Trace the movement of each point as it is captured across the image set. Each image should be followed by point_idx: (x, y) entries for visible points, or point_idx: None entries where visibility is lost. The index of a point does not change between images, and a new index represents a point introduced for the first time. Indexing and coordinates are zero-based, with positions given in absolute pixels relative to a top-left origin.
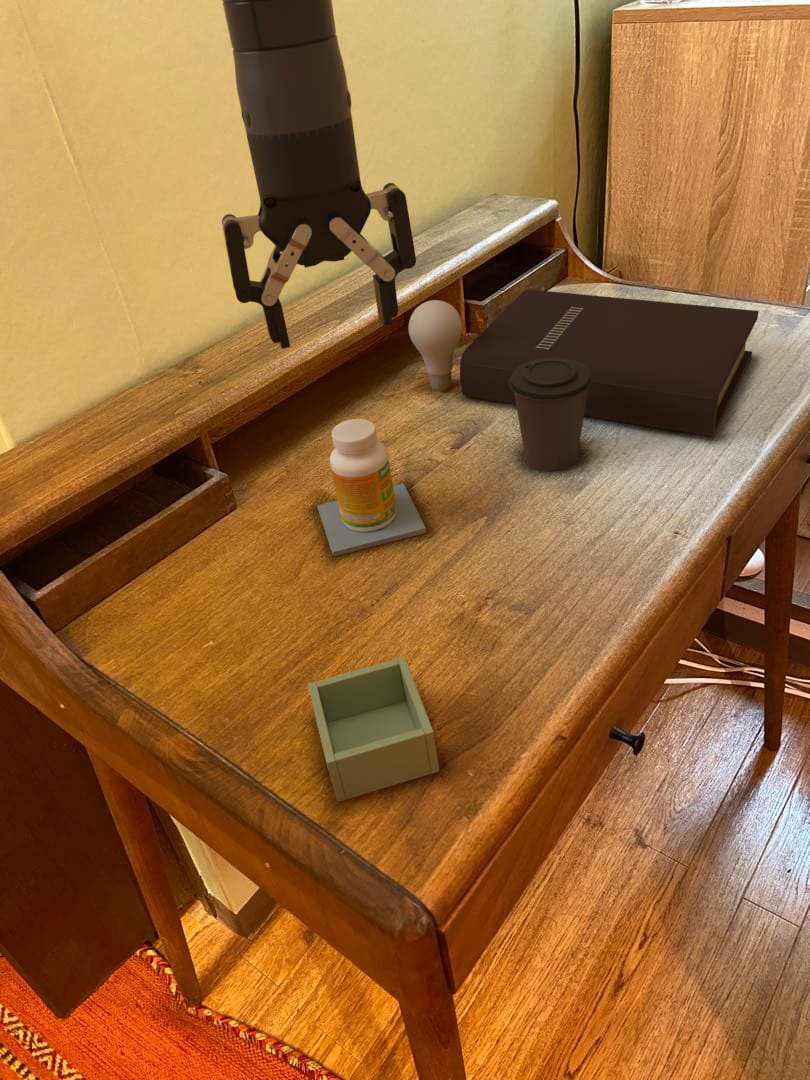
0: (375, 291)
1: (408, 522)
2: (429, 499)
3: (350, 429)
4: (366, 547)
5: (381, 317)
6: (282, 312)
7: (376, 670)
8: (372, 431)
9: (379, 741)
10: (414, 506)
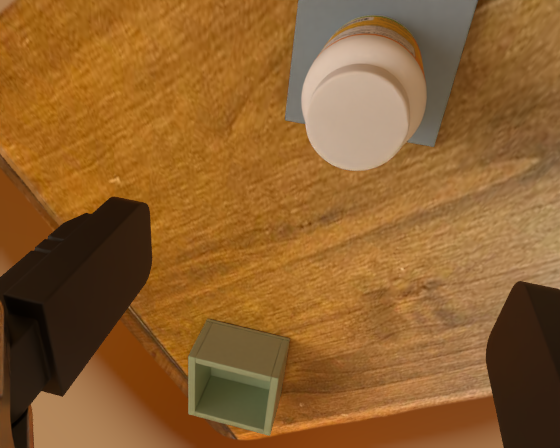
0: (546, 375)
1: None
2: (494, 60)
3: (350, 119)
4: None
5: (501, 340)
6: (79, 371)
7: (249, 376)
8: (389, 156)
9: (229, 422)
10: (451, 83)
